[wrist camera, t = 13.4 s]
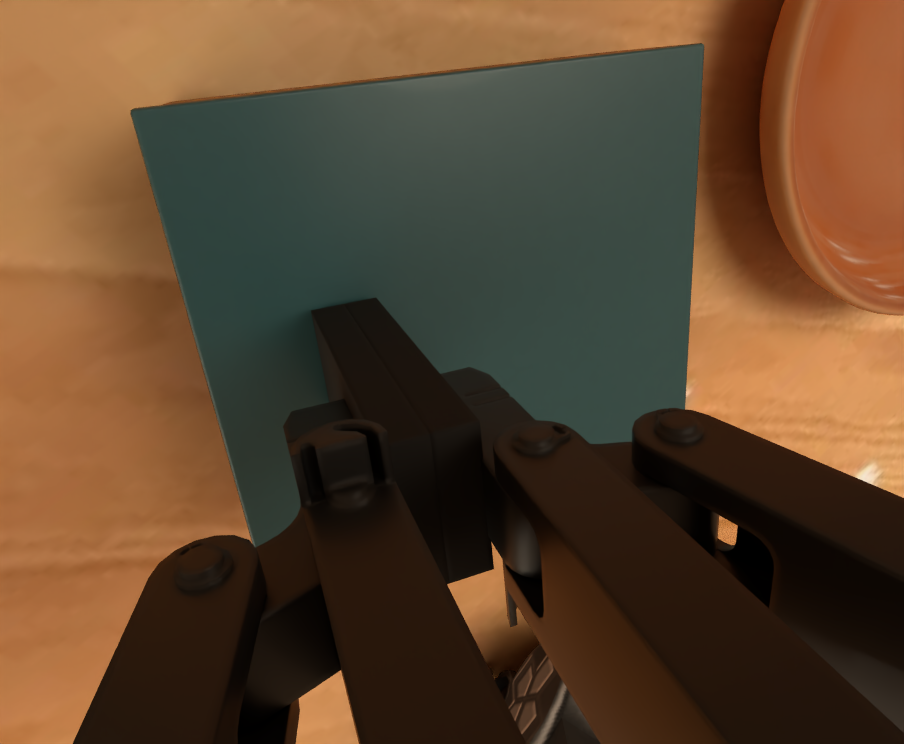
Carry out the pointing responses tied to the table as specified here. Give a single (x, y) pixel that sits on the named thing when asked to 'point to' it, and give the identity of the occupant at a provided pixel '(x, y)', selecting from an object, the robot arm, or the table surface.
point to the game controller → (543, 703)
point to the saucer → (838, 145)
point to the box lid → (438, 239)
